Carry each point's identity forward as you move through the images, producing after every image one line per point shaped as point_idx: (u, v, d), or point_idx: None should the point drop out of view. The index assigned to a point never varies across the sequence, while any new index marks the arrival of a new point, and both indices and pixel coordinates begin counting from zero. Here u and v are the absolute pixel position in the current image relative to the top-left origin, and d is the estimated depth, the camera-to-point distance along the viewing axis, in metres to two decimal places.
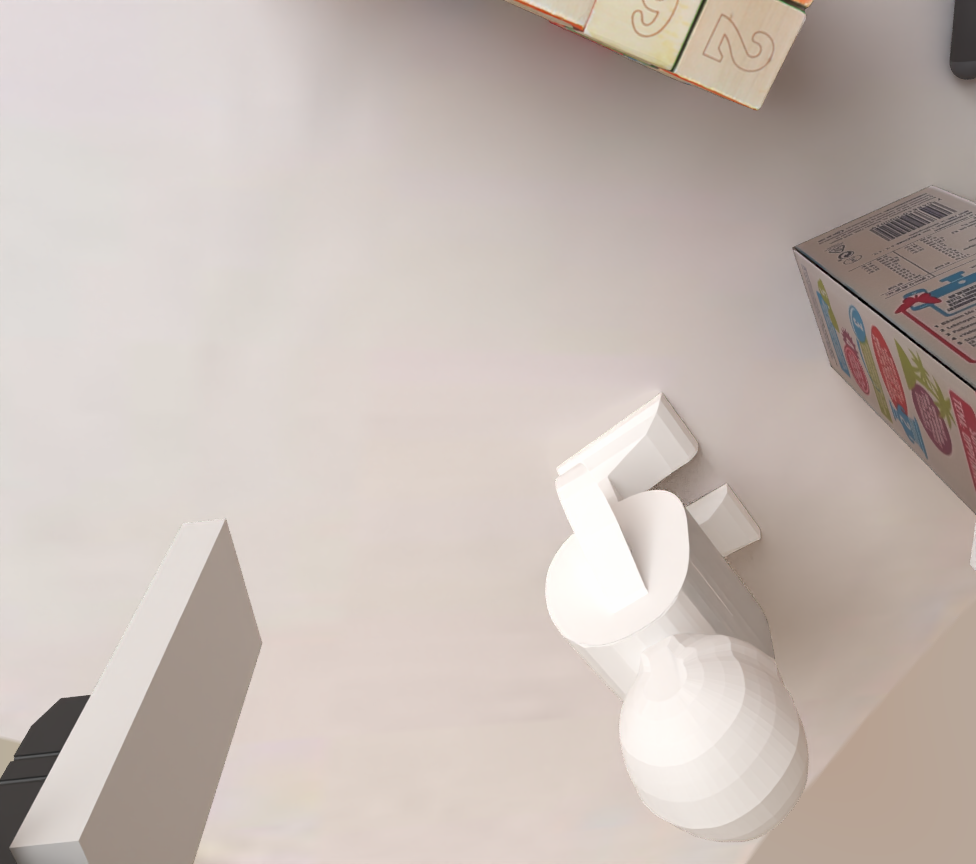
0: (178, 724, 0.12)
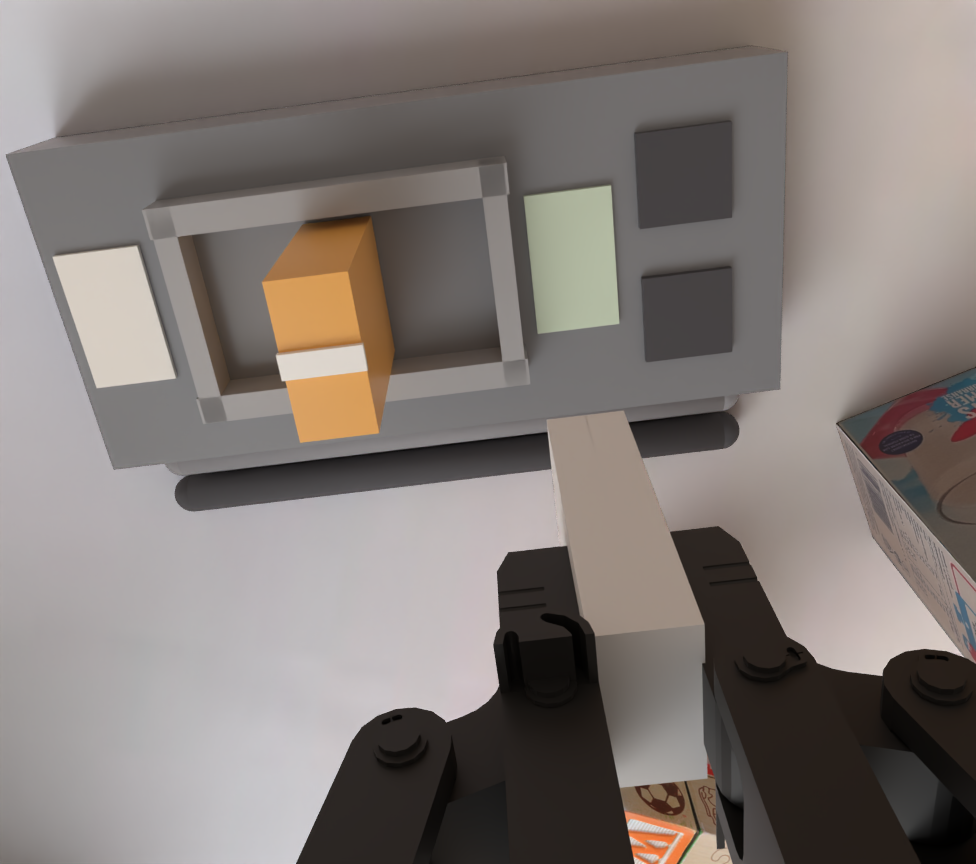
0: None
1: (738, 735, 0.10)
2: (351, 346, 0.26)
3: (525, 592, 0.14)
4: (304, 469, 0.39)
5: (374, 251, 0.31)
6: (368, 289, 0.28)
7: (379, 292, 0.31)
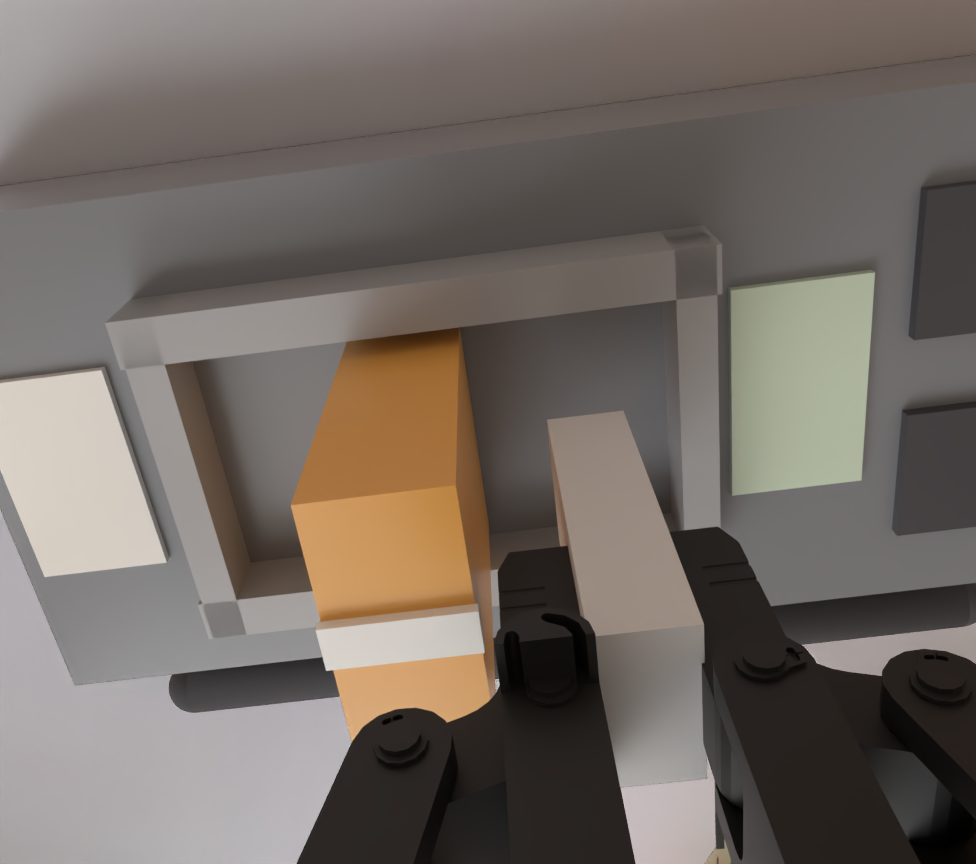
0: None
1: (738, 735, 0.10)
2: (458, 614, 0.14)
3: (525, 592, 0.14)
4: None
5: (466, 383, 0.19)
6: (469, 470, 0.16)
7: (474, 449, 0.19)
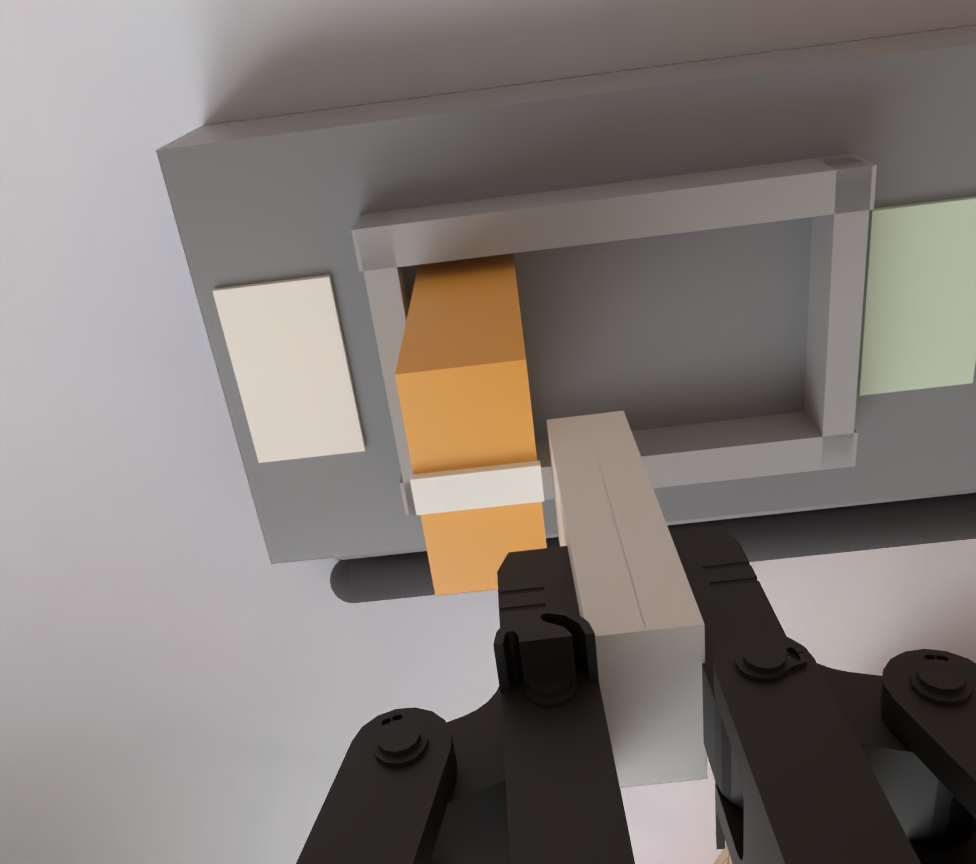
0: None
1: (738, 735, 0.10)
2: (523, 468, 0.17)
3: (525, 592, 0.14)
4: None
5: None
6: None
7: None
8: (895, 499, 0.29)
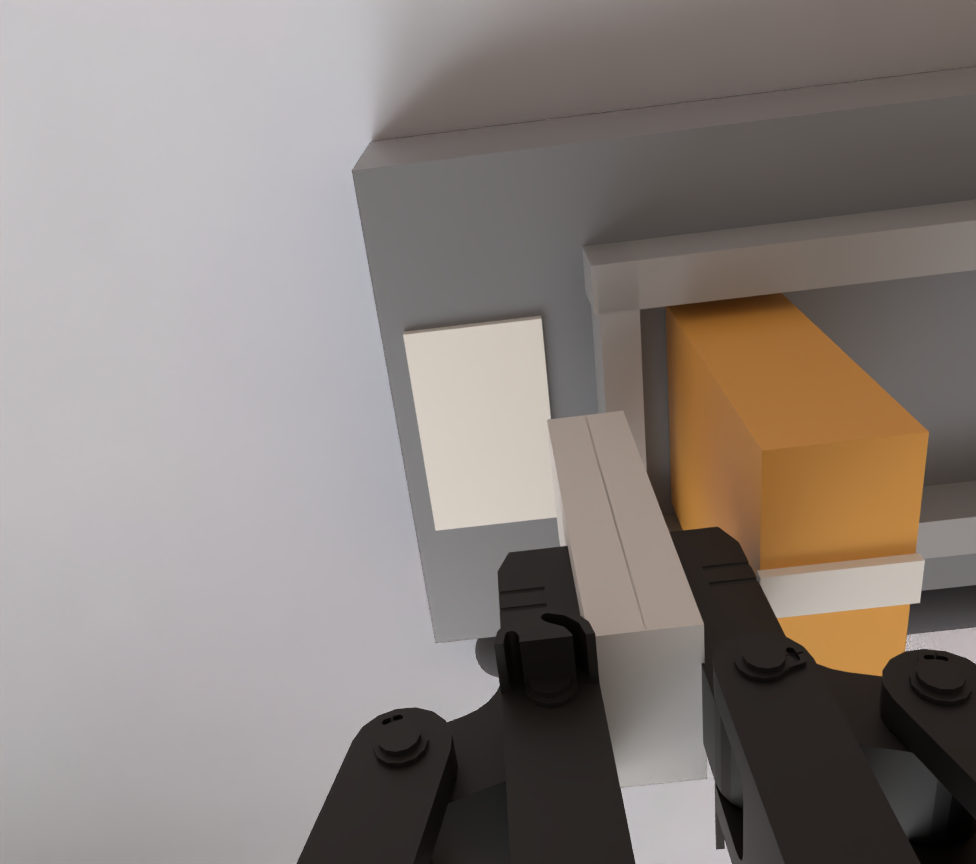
0: None
1: (738, 735, 0.10)
2: (904, 563, 0.14)
3: (525, 592, 0.14)
4: None
5: None
6: None
7: None
8: None
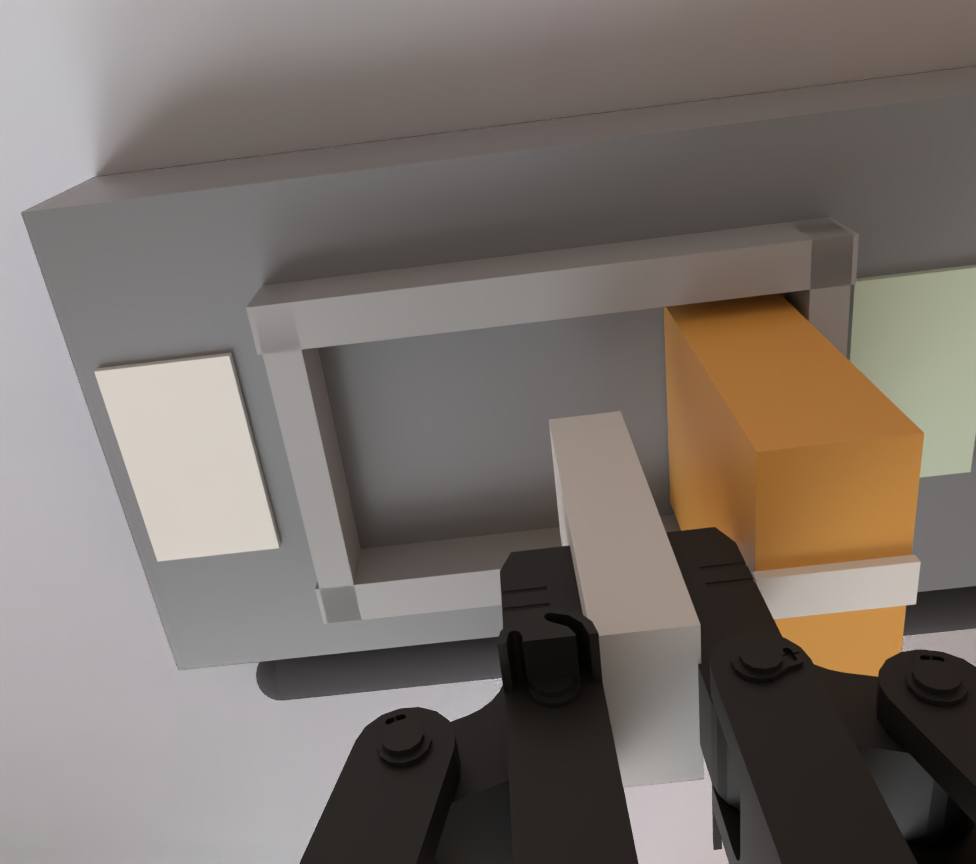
0: None
1: (735, 736, 0.10)
2: (900, 564, 0.14)
3: (528, 592, 0.14)
4: (443, 645, 0.27)
5: None
6: None
7: None
8: None
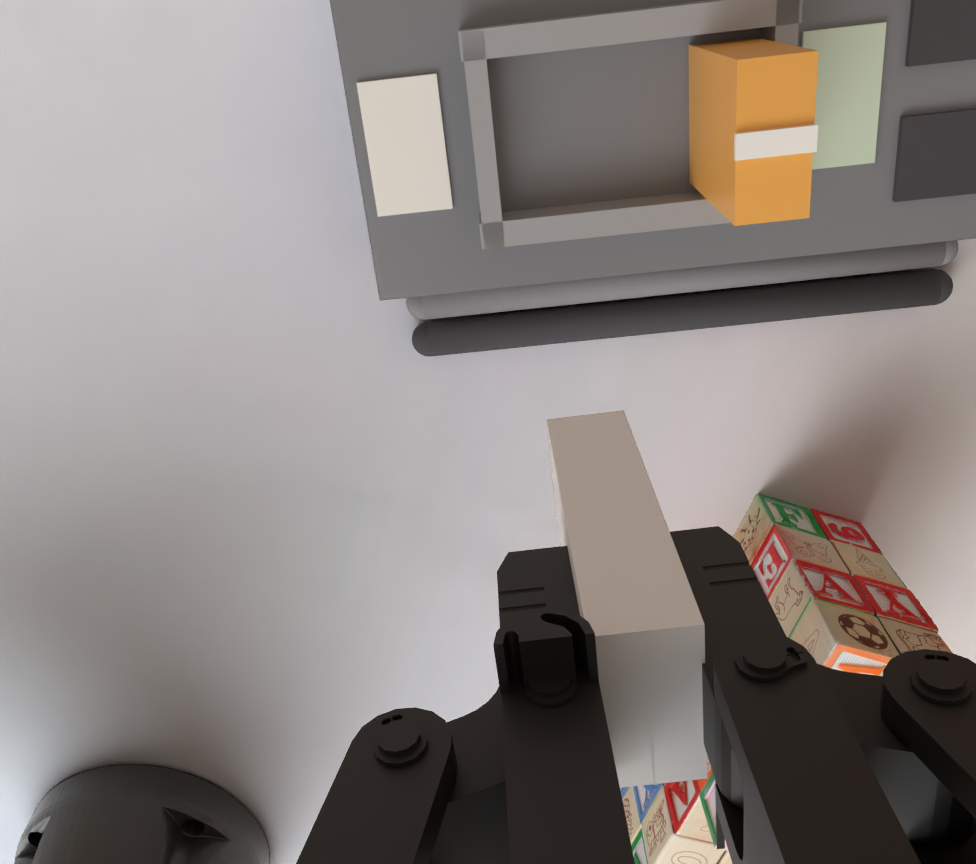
0: None
1: (738, 735, 0.10)
2: (808, 126, 0.28)
3: (525, 592, 0.14)
4: (538, 315, 0.41)
5: None
6: None
7: None
8: (828, 274, 0.40)
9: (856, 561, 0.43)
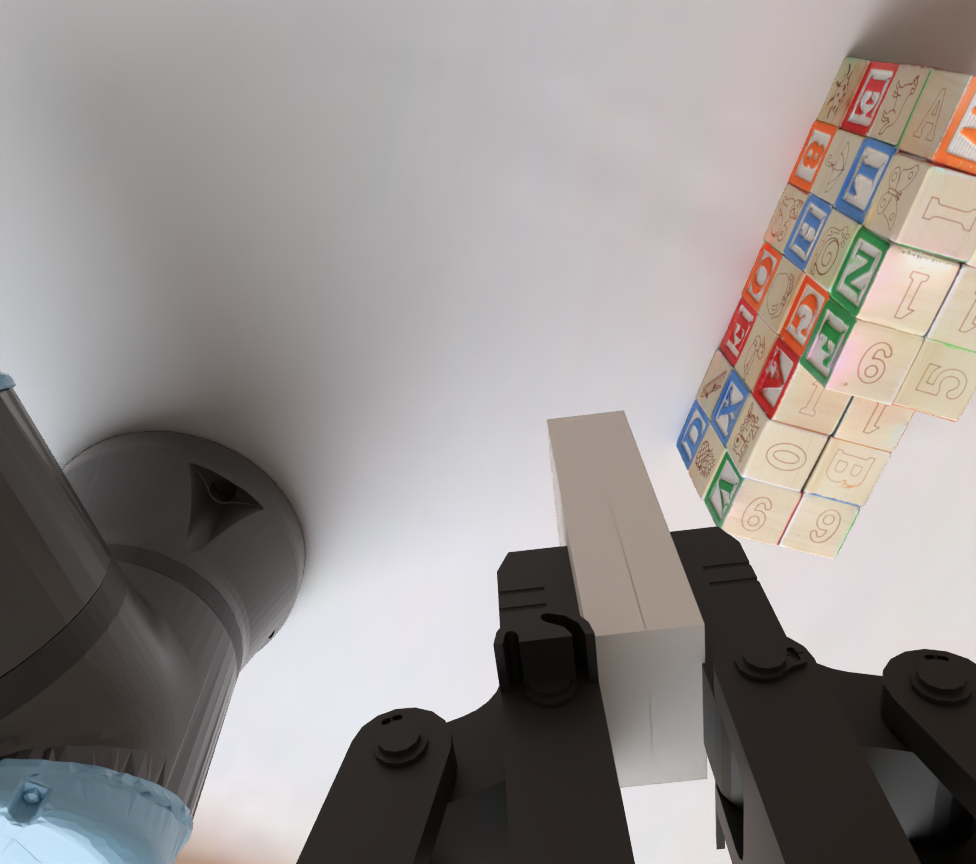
0: None
1: (738, 735, 0.10)
2: None
3: (525, 592, 0.14)
4: None
5: None
6: None
7: None
8: None
9: None
